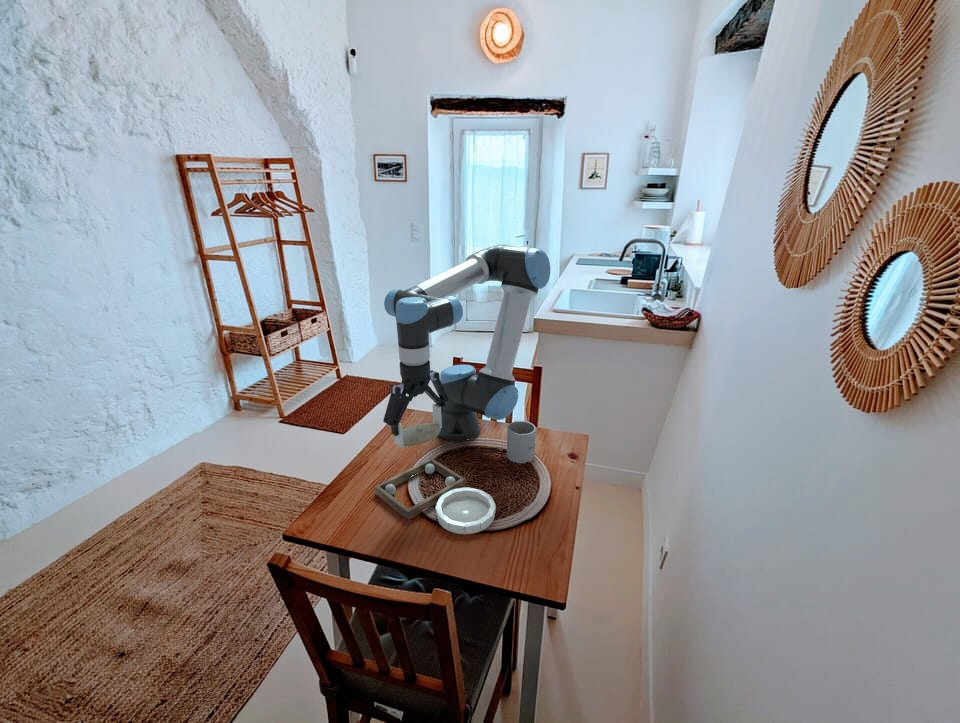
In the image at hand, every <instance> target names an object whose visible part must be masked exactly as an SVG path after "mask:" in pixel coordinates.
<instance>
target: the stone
mask: <svg viewBox="0 0 960 723" xmlns="http://www.w3.org/2000/svg"><path fill="white" fill-rule="evenodd" d="M440 431H441V428H440V426H439V425H437V424H435V423H433V422H424V423H419V424H413V425H410V426H407V427H405V428H402V432H403V445H404V446H403V447H415V446H421V445H423V444H425V443H429V442H431V441H433V440H434V439H436V438H437V437H438V436H439V433H440Z"/></svg>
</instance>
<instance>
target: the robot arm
mask: <svg viewBox="0 0 960 723" xmlns="http://www.w3.org/2000/svg"><path fill="white" fill-rule="evenodd" d="M550 277H551V264H550V259H549V256H548V254H547V253H546V251H544V250H542V249H539V248H535V247H532V246H515V245H509V244H496V245H492V246H490V247H489V246H488V247H486V248H483V249H481V250H479V251H476V252H473V253H472V254H470V255H468V256H467V257H466V259H465V261H463V262H461V263H459V264H457V265H455V266H453V267H451V268H449V269H446V270H445V271H442V272H441V273H438V274H437V275H435V276H432V277H431V278H428V279H426V280H423V281H422V282H420V283H418V284H416V285H414V286H413V287H412V286H411V287H410V288H407V289H405V290H402V289H393V290H389V291H388V292H387V293H386V295H385V298H384V302H383V305H384V309H385V312H386V313H387V314H388V315H389V316H391V317H394V318H395V322H396V332H397V342H398V343H397V344H398V345H397V346H398V347H397V348H398V359H399V361H400V362H399V372H400V373H399V374H400V377H401V383H400V384H397V385H396V384H391V385H390V395H389V399H388V403H387V406H386V410H385V413H384V415H383V416H384V417H383V420H382V421H383V423H385V424H386V425H388V426H390V429H391V430H390V431H391V435H393V436H394V437H393V438H394V444H395V445H396V446H397V447H399V448H403V447H405V446H404V445H403V432H402V430H403V423H401V421H402V418H403V416H404V414H405V412H406V411H407V408H408V406H409V404H410V402H412V401H413V399H414V398H416V397H418V396H419V395H423V394H424V393H425V394H426V395H427V396H428V398H430V399H431V400H432V401H433V402H434V403H433V404H432V405H431V407H432V421H433V422H432V423H435V424H437V425H439V426H440V428H441V431H440V433H439V435H438V436H439V437H440V438H441V439H444V440H446V441H449V442H450V441H451V442H464V441H463V440H466V441H468V440H467V439H470V440H472V439H471V438H473V439H475V438H476V437H478V436H479V435H480V433H481V422H480V420H479V416H478V414H479V415H483V416H485V418H488V419H494V420H495V421H496V420H497V421H501V420H504V419H506V418H507V417H508V416H509V415H511V414H512V412H513V411H514V409H515V408H516V405H517V403H518V400H519V390H518V388H517V387H516V386H515V381H516V379H515V376H514V375H513V371H514V366H515V363H516V358H517V354H518V350H519V346H520V343H521V340H522V334H523V330H524V327H525V323H526V319H527V315H528V313H529V312H528V311H529V307H530V304H531V300H532V299H533V298H534V297H537V295H538V293H539V289H543V288H545V287H546V286H547V284H548V283H549V280H550ZM486 282H500V283H501V285H500V287H501V289H502V290H503V296H502V300H501V304H500V306H499V307H500V308H499V312H498V316H497V320H496V324H495V328H494V331H493V334H492V340H491V342H490V343H491V344H490V347H489V350H488V351H489V352H488V355H487V359H486V363H485V366H484V367H482V368H481V369H479V371H478V374H477V370H476V368H475V366H473V365H470V364H455V365H450V366H448V367H446V368H444V369H443V370H442V371H441V372H437V371H436V370H433V369H432V370H431V361H430V358H431V355H430V353H431V352H430V351H431V350H430V334H431V333H434V332H437V331H440V330H442V329H445V328H448V327H449V328H450V327H452V326H453V325H456V324H457V323H459V322H460V321H461V320H462V318H463V316H464V315H463V314H464V312H463V310H464V309H463V308H464V307H463V306H462V302H461V301H460V300H459V299H458V298H457V297H455V295H457V294H459V293H461V292H463V291H465V290H466V289H468V288H470V287H473V286H474V285H476V284H477V285H482V284H484V283H486ZM430 381H431V383H432V385H433V387H434V389H435V391H434V390H433V389H432V387H431V386H430V385H429V383H430ZM474 437H475V438H474Z"/></svg>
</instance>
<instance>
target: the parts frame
mask: <svg viewBox="0 0 960 723" xmlns="http://www.w3.org/2000/svg"><path fill="white" fill-rule="evenodd" d="M427 464H433V465H434V467H435V471H436V472H437V473H439V475H441V476H444V477H445V478H447V477H450V476H451V477H454V478H455V480H456V482H454V483H452V484H451V485H449V486H445V487H444V488H442V489H440V490H439V491H437V492H435V493H433V494H432V495H430V496H428V497H426V498H425V499H423V500H422V501H419V502H418V503H416V504H415V505H413V506H410V507H409V508H408V507H407V506H406V505H405V504H403V503H402V502H400V501H399V499H397V498H396V497H394V496H393V495H390V494H389V493H388V492H386V491H385V487H386V486H387V485H388V484H393V485H394V486H395V487H396V486H398V485H400V484H402V483H404V482H406V481H408V480H410V479H411V478H410V477H411V476H412V475H415V474H417V473H420V472H421V473H423V472H425V466H426V465H427ZM422 471H423V472H422ZM421 473H420V474H421ZM409 478H410V479H409ZM465 487H466V478H465V477H463V476H461V475H460V474H458V473H456V472H455V471H453V470H452V469H450V468H449V467H447V466H446V465H443V464H442V463H441V462H438V461H437V460H435V459H433V457H430V458H427V459H425V460H424V461H422V462H420V463H418V464H416V465H414V466H412V467H410V468H408V469H406V470H404V471H403V472H400V473H398V474H396V475H394V476H393V477H390V478H389V479H386V480H385V481H382V482H380V483H379V484H377V485H374V495H375V496H377V497H378V498H380V500H382V501H383V502H385V503H386V504H387V505H388V506H390V507H391V509H393V510H395V511H396V512H398V513H399V514H400V515H401V516H402V517H404V518H405V519H406V520H407V521H410V520H412V519H413V518H416V517H417V516H419V515H420V514H422V513H423V512H424V511H423V510H424V509H426V508H428V507H430V508H432V507H433V506H436V504H437V502H438V500H439V498H440V497H441V496H442V495H443V494H445V493H447V492H449V491H450V490H453V489H458V488H465ZM431 506H432V507H431ZM428 509H429V508H428ZM422 511H423V512H422ZM421 512H422V513H421Z"/></svg>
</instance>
